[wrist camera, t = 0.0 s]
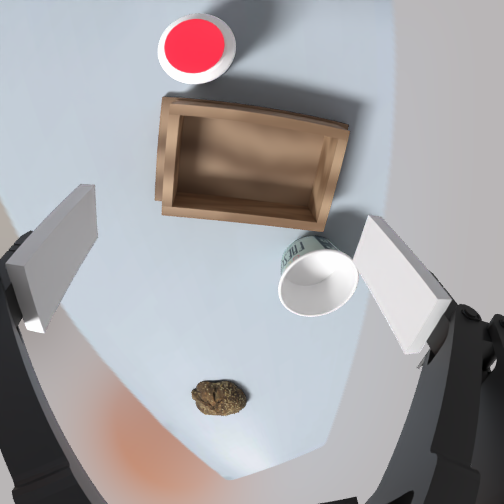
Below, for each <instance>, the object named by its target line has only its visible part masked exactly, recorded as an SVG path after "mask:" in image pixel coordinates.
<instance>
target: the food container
mask: <svg viewBox="0 0 504 504" xmlns="http://www.w3.org/2000/svg"><path fill="white" fill-rule="evenodd" d="M352 260H353V259H352V258H351V257H350V256H348V255H347V254H345V253H343V252H341V251H340V250H339V249H338V248H337V247H336V246H335V245H333V244H332V243H331V242H330V241H329V240H327V239H326V238H323V237H320V236H307V237H303V238H301V239H298V240H297V241H295V242H293V243H292V244H291V245H290V246H289V247H288V248H287V249H286V251H285V252H284V254H283V257H282V260H281V279H280V281H279V286H278V293H279V297H280V300H281V302H282V304H283V305H284V306H285V307H286V308H287V309H288V310H289V311H291V312H293V313H295V314H297V315H301V316H307V317H314V316H321V315H325V314H328V313H331V312H333V311H335V310H337V309H338V308H340V307H341V306H343V305H344V304H345V303H346V302H347V301H348V300H349V299H350V298H351V297H352V295H353V294H354V292H355V290H356V288H357V285H358V280H359V272H358V270H357V268H356V267H355V265H354V263H353V262H352Z"/></svg>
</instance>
